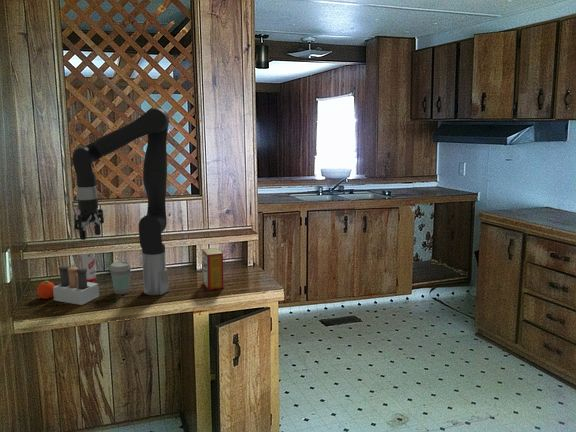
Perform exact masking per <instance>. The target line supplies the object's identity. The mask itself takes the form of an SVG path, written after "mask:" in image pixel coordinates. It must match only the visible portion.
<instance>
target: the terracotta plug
mask: <svg viewBox="0 0 576 432" xmlns="http://www.w3.org/2000/svg"><path fill="white" fill-rule="evenodd" d="M77 269H79V268H78V267H76V266H72V267H69V268H68V272H69V283H70V288H77V287H79V286H78V273H77V271H76V270H77Z"/></svg>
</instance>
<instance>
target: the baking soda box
mask: <svg viewBox="0 0 576 432" xmlns="http://www.w3.org/2000/svg"><path fill="white" fill-rule="evenodd" d="M201 256H202V257H201V259H202V260H201V261H202V285H203V286H204V285H205V286H204V287H205V288H206V290H207V291H208V290H209V291H214V290H213V289H217V290H222V289H221V288H223V289H224V253H223V252H222V251H221V250H220V249H219V248H218V247H212V248H203V249H201Z"/></svg>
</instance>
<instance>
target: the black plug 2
mask: <svg viewBox="0 0 576 432" xmlns="http://www.w3.org/2000/svg"><path fill="white" fill-rule="evenodd" d="M76 271H77V273H78V286H79V289H82V290H84V289H86V288H87V276H86V272H87V269H85V268H81V269H80V268H78V269H77V270H76Z"/></svg>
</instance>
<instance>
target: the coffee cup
mask: <svg viewBox="0 0 576 432" xmlns="http://www.w3.org/2000/svg"><path fill="white" fill-rule="evenodd" d="M130 263H131V262H129V261H116V262H112V263H111V264H110V267H109V271H110V274H111V276H110V277H111V280H112V281H111V282H112V286H113V287H112V288H113V291H114V294H117V295H124V294H127V293H129V291H130V285H131V284H130V283H131V282H130V281H131V269H132V265H131V264H130Z"/></svg>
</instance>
